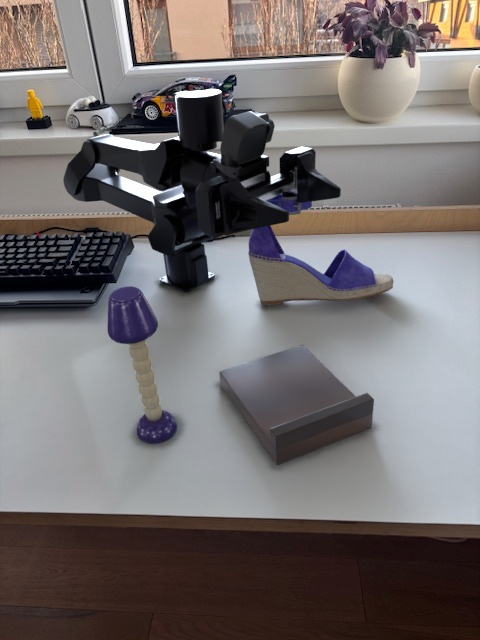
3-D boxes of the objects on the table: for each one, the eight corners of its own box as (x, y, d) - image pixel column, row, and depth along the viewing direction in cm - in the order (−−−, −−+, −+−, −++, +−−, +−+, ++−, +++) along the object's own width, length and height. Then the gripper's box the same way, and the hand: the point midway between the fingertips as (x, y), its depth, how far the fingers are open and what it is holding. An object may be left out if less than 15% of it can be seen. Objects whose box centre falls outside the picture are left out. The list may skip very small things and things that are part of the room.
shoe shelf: (220, 385, 63) (217, 358, 61) (302, 357, 67) (302, 331, 65) (276, 465, 52) (275, 436, 50) (371, 427, 56) (374, 399, 54)
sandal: (399, 297, 73) (395, 183, 68) (253, 310, 76) (239, 201, 71) (390, 280, 80) (386, 177, 75) (257, 292, 83) (245, 193, 78)
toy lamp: (156, 453, 54) (128, 310, 46) (122, 437, 57) (88, 298, 48) (185, 423, 58) (164, 285, 49) (151, 410, 60) (125, 275, 51)
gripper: (154, 129, 61) (255, 151, 51) (266, 99, 72) (367, 113, 62) (166, 222, 67) (259, 258, 57) (269, 182, 78) (361, 206, 68)
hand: (315, 204), depth 61 cm, fingers open, 9 cm apart
